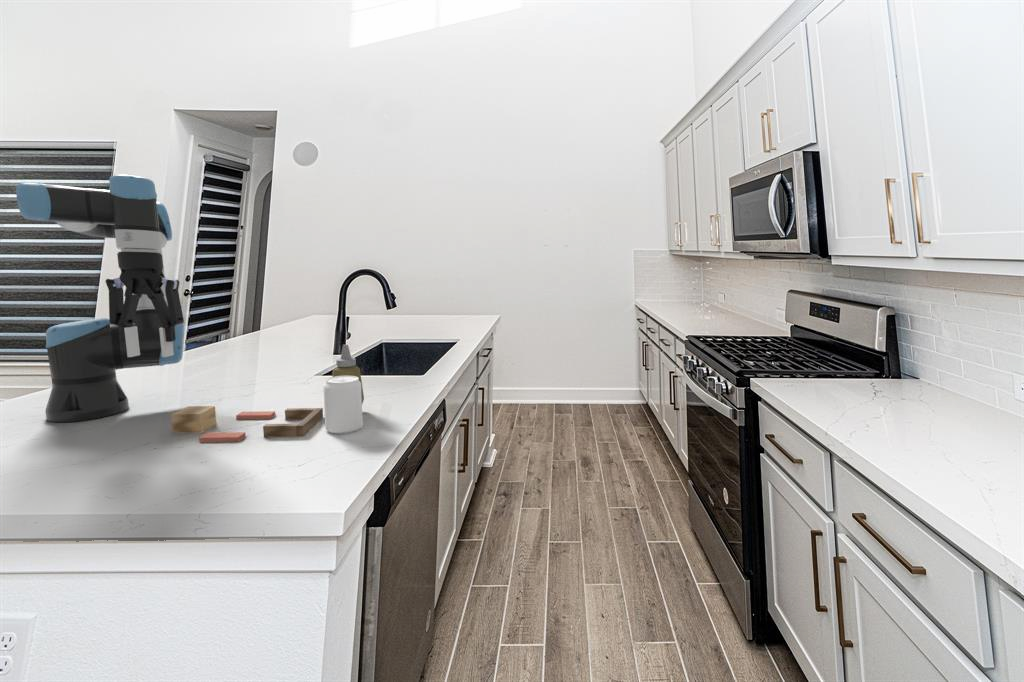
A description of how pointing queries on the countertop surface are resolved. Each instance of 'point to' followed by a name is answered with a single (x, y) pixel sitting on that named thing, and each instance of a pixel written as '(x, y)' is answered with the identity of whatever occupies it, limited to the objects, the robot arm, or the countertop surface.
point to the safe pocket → (295, 430)
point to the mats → (236, 435)
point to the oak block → (193, 419)
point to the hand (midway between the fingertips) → (151, 355)
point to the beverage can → (343, 404)
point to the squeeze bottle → (347, 367)
